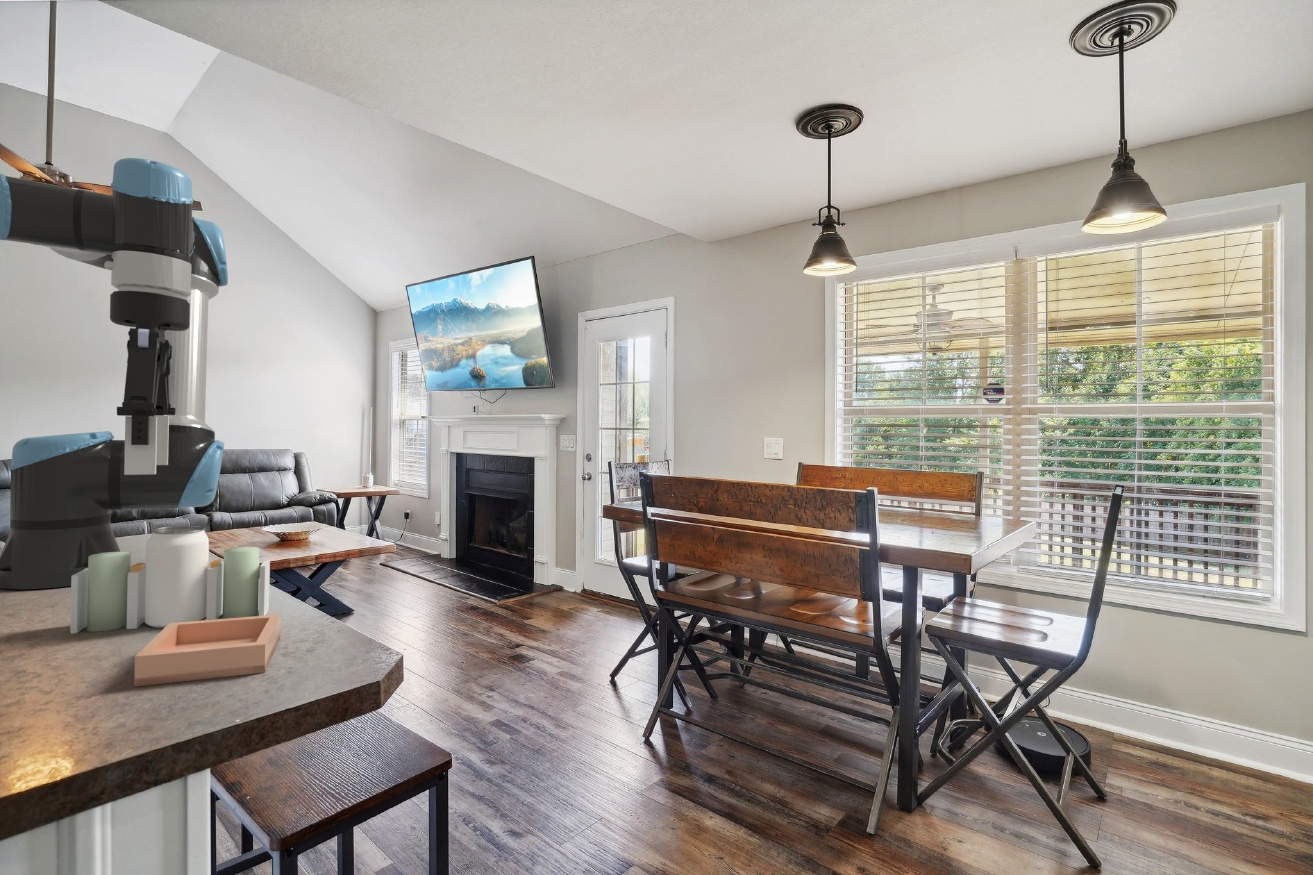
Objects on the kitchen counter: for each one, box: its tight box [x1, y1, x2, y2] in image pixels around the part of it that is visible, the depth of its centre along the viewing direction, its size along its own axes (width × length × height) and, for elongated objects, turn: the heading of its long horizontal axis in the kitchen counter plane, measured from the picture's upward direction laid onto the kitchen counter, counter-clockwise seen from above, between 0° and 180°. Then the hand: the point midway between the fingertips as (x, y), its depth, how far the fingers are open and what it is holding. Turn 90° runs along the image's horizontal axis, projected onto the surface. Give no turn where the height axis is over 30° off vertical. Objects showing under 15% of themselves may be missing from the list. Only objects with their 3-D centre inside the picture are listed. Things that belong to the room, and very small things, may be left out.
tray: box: [133, 613, 282, 688], centre depth 69 cm, size 11×11×3 cm
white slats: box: [69, 558, 271, 634], centre depth 81 cm, size 4×20×8 cm, turn 114°
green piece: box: [221, 546, 261, 619], centre depth 84 cm, size 4×4×9 cm
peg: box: [86, 551, 132, 632], centre depth 78 cm, size 4×4×9 cm
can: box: [144, 525, 210, 629], centre depth 81 cm, size 6×6×12 cm
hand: (148, 469), depth 76 cm, fingers open, 13 cm apart
